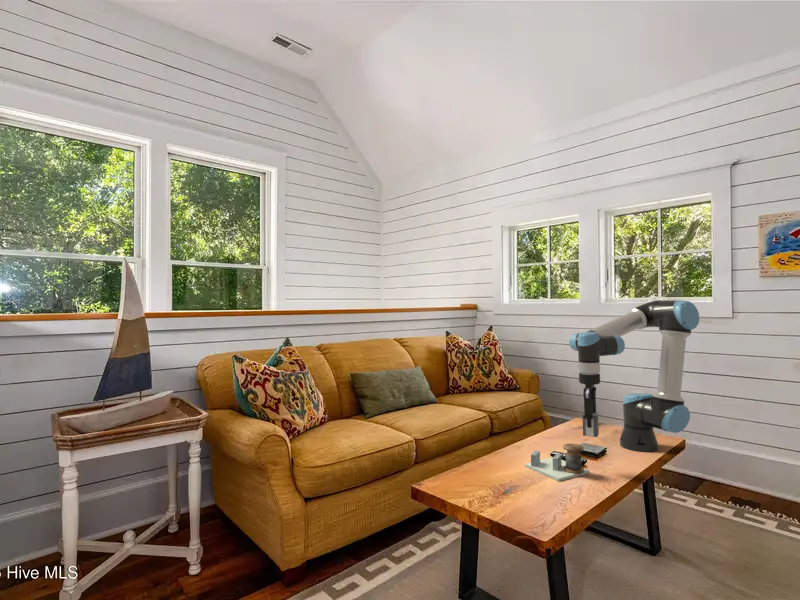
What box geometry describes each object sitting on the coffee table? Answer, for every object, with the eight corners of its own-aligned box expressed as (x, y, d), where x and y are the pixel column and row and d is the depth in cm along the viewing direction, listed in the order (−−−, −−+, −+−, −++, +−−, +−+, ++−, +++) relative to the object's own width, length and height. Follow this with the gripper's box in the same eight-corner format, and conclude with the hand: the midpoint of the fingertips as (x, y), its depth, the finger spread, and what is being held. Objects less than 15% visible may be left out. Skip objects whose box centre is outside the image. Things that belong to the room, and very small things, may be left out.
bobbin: (572, 465, 185) (572, 442, 185) (588, 471, 179) (587, 447, 179) (559, 469, 182) (559, 445, 182) (574, 475, 176) (574, 450, 176)
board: (554, 459, 196) (554, 456, 196) (589, 472, 180) (589, 470, 180) (524, 466, 188) (524, 463, 188) (558, 481, 173) (558, 478, 173)
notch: (535, 461, 191) (535, 450, 191) (561, 465, 185) (561, 454, 185) (531, 466, 186) (530, 454, 186) (557, 470, 180) (557, 459, 180)
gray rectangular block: (584, 432, 185) (584, 412, 185) (598, 434, 183) (598, 413, 183) (583, 435, 182) (582, 414, 182) (597, 437, 179) (596, 415, 179)
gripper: (582, 368, 191) (584, 427, 192) (574, 376, 177) (576, 438, 177) (603, 369, 187) (604, 429, 188) (596, 377, 173) (598, 441, 173)
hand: (590, 433), depth 182 cm, fingers closed on gray rectangular block, 4 cm apart
